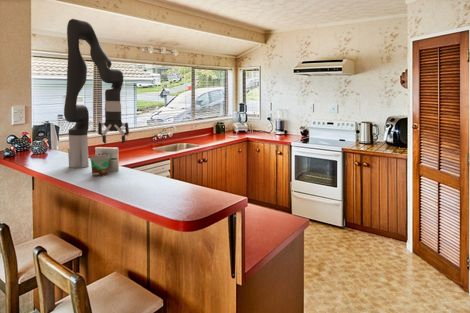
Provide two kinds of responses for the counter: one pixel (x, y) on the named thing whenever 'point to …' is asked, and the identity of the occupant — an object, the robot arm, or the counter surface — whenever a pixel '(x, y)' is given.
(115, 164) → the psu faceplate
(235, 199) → the counter surface
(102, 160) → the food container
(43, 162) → the counter surface
